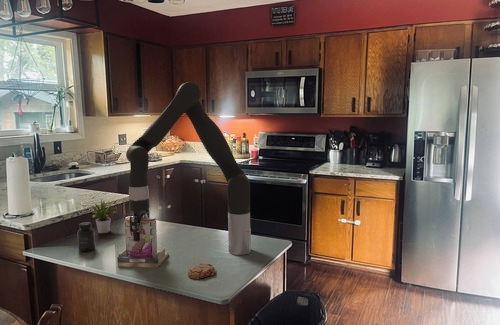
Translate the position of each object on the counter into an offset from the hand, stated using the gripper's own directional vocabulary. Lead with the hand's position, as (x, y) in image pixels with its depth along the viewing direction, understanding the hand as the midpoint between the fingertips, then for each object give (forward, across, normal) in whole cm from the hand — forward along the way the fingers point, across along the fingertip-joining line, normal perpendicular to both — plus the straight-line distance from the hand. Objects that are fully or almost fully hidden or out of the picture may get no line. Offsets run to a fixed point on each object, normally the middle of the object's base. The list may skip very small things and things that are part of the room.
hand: (141, 237), depth 149 cm
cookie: (+11, +8, +26) cm, 29 cm away
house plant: (+10, -35, -34) cm, 50 cm away
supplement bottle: (+10, -11, -29) cm, 33 cm away
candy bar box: (+9, 0, 0) cm, 9 cm away
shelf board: (+10, -2, 0) cm, 10 cm away
